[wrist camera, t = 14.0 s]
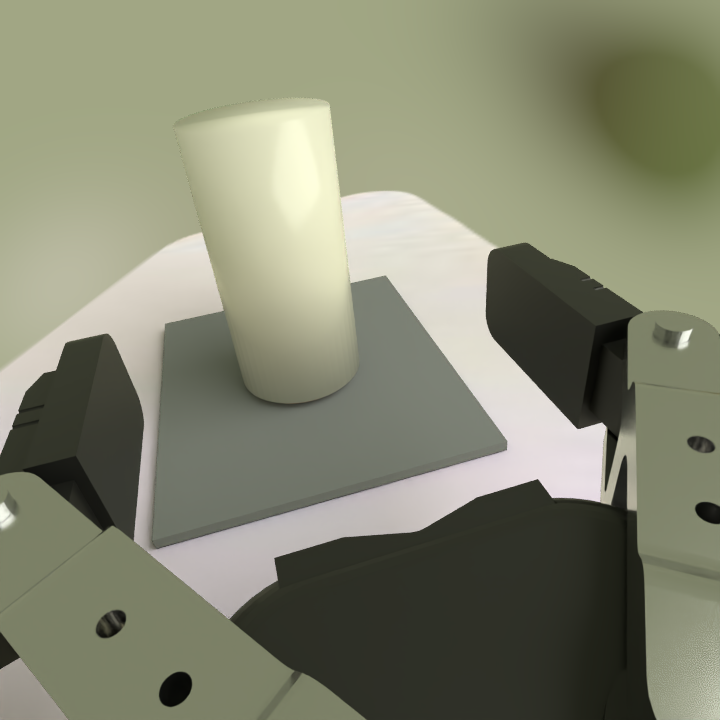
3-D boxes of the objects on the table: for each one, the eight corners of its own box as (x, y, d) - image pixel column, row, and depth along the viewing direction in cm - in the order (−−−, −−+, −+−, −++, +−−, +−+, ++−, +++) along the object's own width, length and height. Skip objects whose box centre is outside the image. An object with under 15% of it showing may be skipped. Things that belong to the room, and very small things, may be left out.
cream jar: (249, 416, 21) (172, 142, 15) (237, 348, 25) (174, 112, 19) (374, 385, 21) (346, 115, 16) (343, 324, 25) (312, 91, 20)
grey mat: (156, 548, 17) (152, 540, 17) (167, 330, 28) (165, 323, 28) (506, 449, 19) (507, 441, 19) (386, 282, 30) (385, 275, 30)
